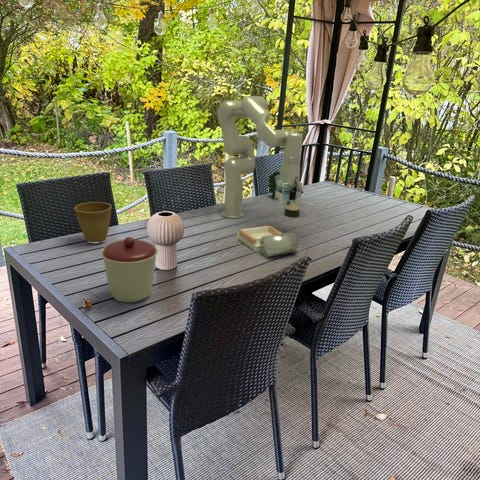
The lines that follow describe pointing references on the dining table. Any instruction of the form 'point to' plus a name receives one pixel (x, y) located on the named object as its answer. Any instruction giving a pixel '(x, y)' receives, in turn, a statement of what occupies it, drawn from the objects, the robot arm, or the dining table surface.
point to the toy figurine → (273, 183)
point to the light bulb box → (286, 194)
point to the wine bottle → (292, 209)
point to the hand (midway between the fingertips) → (287, 197)
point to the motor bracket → (269, 240)
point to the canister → (129, 268)
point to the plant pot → (94, 220)
